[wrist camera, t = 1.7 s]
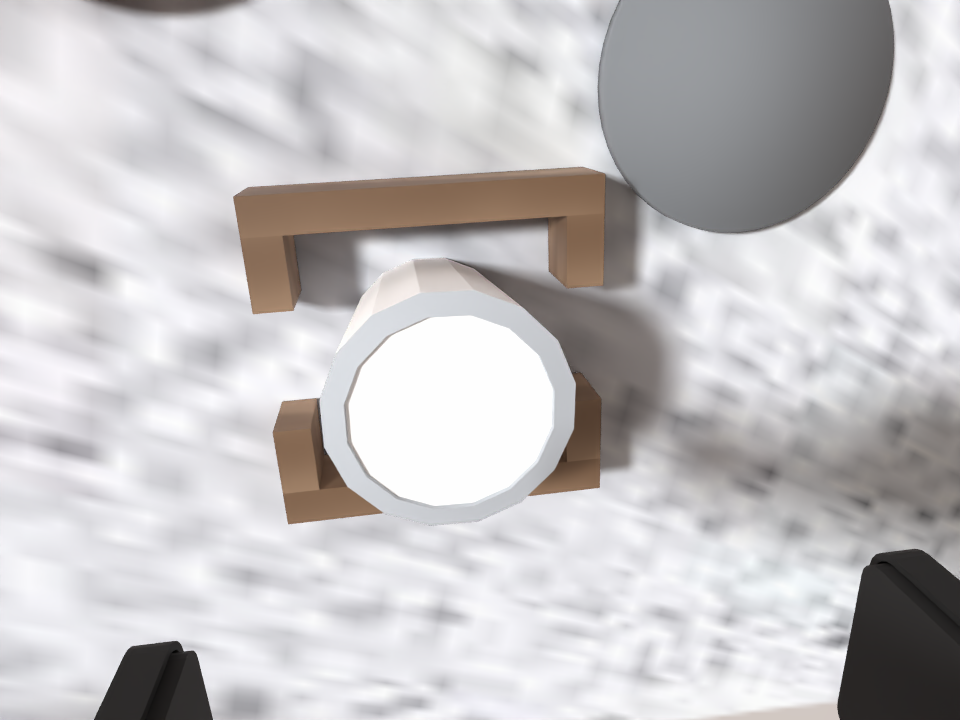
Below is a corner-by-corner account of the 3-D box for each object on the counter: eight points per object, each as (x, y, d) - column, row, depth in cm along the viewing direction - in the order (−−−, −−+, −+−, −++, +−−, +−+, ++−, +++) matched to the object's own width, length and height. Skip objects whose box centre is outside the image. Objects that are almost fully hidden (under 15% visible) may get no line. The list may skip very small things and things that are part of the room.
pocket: (580, 455, 27) (599, 487, 25) (296, 486, 26) (288, 524, 24) (582, 167, 23) (605, 173, 21) (248, 187, 22) (233, 196, 20)
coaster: (858, 219, 25) (869, 222, 25) (595, 239, 24) (600, 242, 24) (904, -96, 22) (918, -102, 21) (600, -92, 21) (606, -98, 20)
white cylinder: (397, 199, 23) (406, 237, 16) (562, 302, 25) (628, 371, 18) (298, 367, 24) (269, 463, 18) (460, 451, 26) (488, 564, 20)
